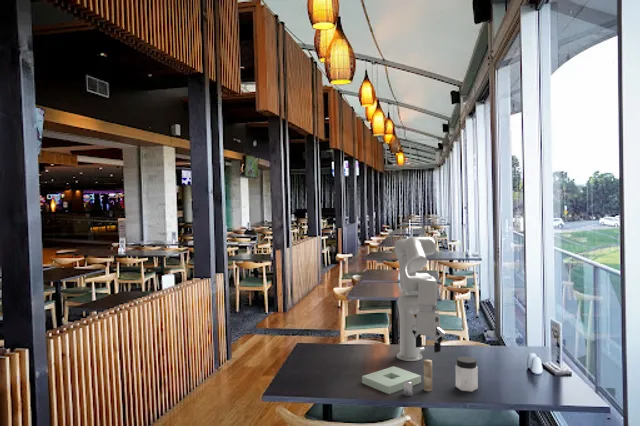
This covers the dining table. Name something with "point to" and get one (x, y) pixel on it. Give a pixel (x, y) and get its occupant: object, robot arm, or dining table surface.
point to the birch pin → (427, 375)
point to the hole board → (390, 379)
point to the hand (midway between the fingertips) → (428, 349)
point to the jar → (466, 374)
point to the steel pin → (408, 388)
